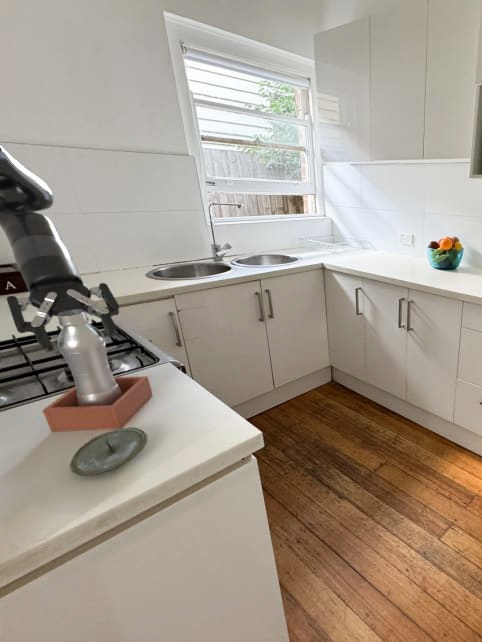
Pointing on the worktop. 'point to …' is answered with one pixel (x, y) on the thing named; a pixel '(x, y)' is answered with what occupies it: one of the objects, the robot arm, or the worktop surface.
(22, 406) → the worktop surface
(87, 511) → the worktop surface
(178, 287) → the worktop surface
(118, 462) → the lid
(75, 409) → the caddy
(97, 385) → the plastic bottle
